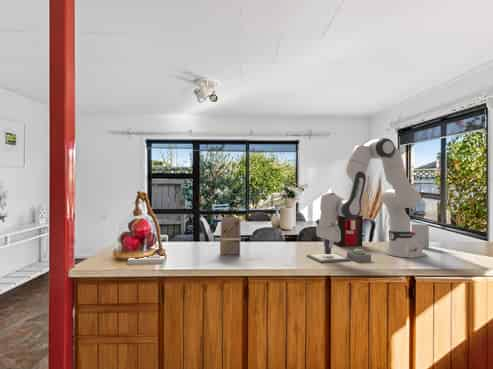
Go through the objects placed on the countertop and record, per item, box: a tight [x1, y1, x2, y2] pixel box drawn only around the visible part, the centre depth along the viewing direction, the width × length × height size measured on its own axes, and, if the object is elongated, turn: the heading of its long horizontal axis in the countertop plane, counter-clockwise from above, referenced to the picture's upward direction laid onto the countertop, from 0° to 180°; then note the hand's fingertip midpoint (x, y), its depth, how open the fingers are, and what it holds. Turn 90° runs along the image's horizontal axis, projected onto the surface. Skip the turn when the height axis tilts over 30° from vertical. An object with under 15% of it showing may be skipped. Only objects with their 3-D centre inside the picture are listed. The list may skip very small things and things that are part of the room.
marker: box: [324, 236, 332, 254], centre depth 191 cm, size 4×4×10 cm
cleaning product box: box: [333, 215, 363, 248], centre depth 231 cm, size 16×9×20 cm, turn 98°
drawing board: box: [306, 252, 351, 264], centre depth 192 cm, size 18×16×1 cm
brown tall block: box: [219, 217, 241, 257], centre depth 199 cm, size 8×12×26 cm
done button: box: [353, 248, 364, 255], centre depth 189 cm, size 5×5×3 cm
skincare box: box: [411, 222, 430, 250], centre depth 225 cm, size 8×7×16 cm
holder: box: [127, 255, 166, 265], centre depth 201 cm, size 45×18×3 cm, turn 6°
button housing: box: [346, 251, 372, 263], centre depth 189 cm, size 9×9×4 cm
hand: (328, 247), depth 191 cm, fingers closed on marker, 3 cm apart
